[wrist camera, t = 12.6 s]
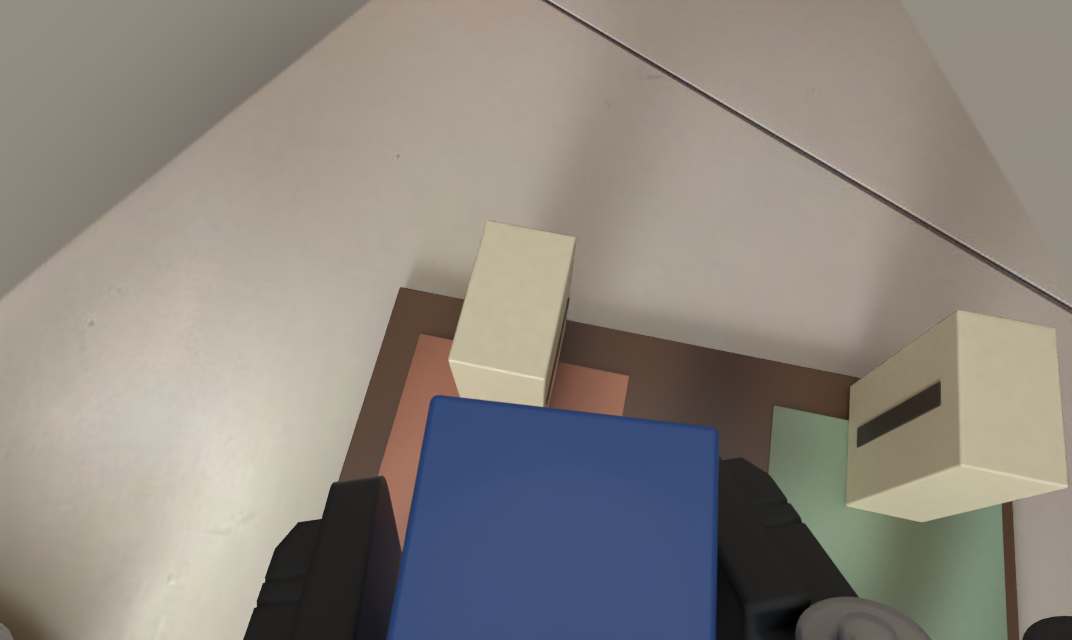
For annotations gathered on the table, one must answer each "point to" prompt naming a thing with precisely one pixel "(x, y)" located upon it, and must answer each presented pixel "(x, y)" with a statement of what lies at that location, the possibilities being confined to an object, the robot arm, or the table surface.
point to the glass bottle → (5, 633)
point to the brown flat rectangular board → (744, 431)
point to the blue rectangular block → (558, 527)
